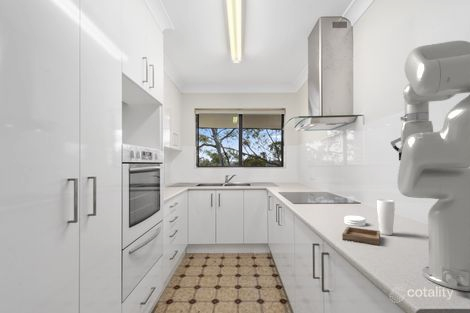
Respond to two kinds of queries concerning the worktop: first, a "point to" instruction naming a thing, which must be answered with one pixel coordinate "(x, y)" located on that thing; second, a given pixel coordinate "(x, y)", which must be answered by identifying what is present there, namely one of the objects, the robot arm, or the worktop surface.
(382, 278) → the worktop surface
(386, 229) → the white tall cup
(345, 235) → the tray
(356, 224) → the white cup lid
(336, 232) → the worktop surface
